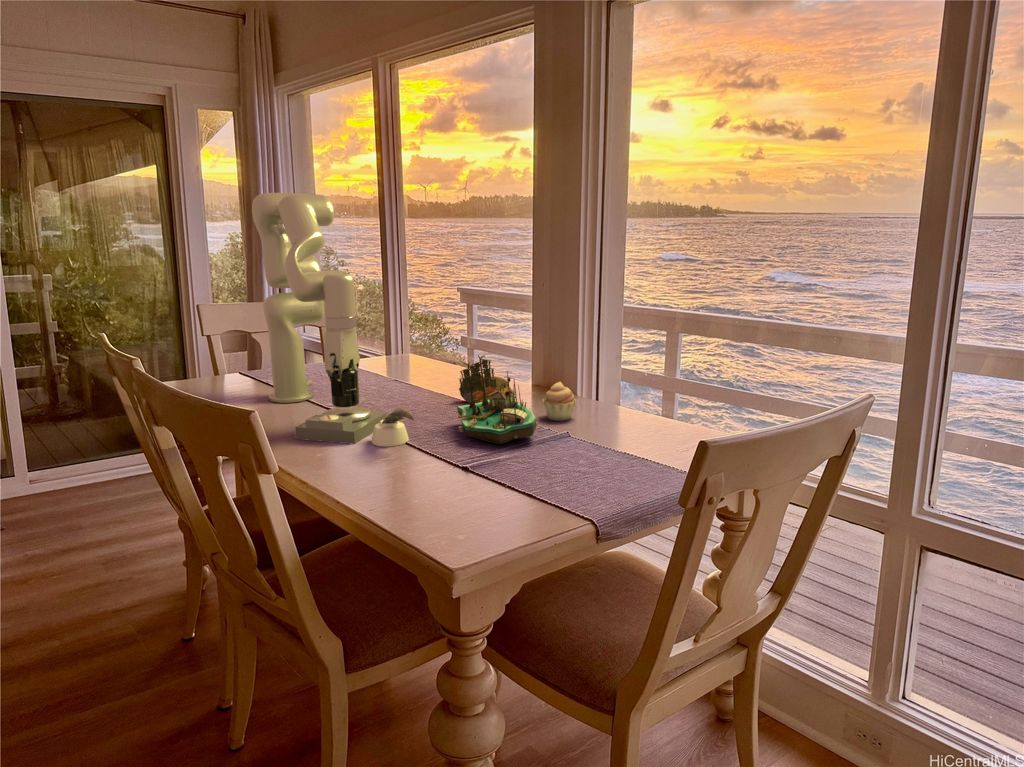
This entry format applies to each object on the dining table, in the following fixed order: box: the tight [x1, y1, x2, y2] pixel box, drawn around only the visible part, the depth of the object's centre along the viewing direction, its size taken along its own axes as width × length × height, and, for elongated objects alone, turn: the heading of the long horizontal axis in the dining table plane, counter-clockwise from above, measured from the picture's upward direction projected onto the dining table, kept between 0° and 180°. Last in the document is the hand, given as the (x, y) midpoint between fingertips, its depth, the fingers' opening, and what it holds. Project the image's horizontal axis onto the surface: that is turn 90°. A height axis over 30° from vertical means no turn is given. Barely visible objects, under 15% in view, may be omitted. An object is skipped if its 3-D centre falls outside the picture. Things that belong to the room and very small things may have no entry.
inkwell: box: [370, 408, 415, 447], centre depth 170 cm, size 9×18×10 cm, turn 38°
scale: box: [294, 411, 388, 445], centre depth 183 cm, size 18×16×6 cm
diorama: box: [456, 354, 539, 445], centre depth 178 cm, size 19×25×19 cm
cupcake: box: [541, 381, 578, 422], centre depth 192 cm, size 9×9×10 cm
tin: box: [459, 375, 508, 404], centre depth 208 cm, size 15×3×8 cm, turn 68°
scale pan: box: [322, 405, 371, 422], centre depth 185 cm, size 12×12×1 cm
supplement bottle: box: [331, 359, 360, 408], centre depth 183 cm, size 7×7×12 cm
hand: (345, 392), depth 184 cm, fingers closed on supplement bottle, 6 cm apart
